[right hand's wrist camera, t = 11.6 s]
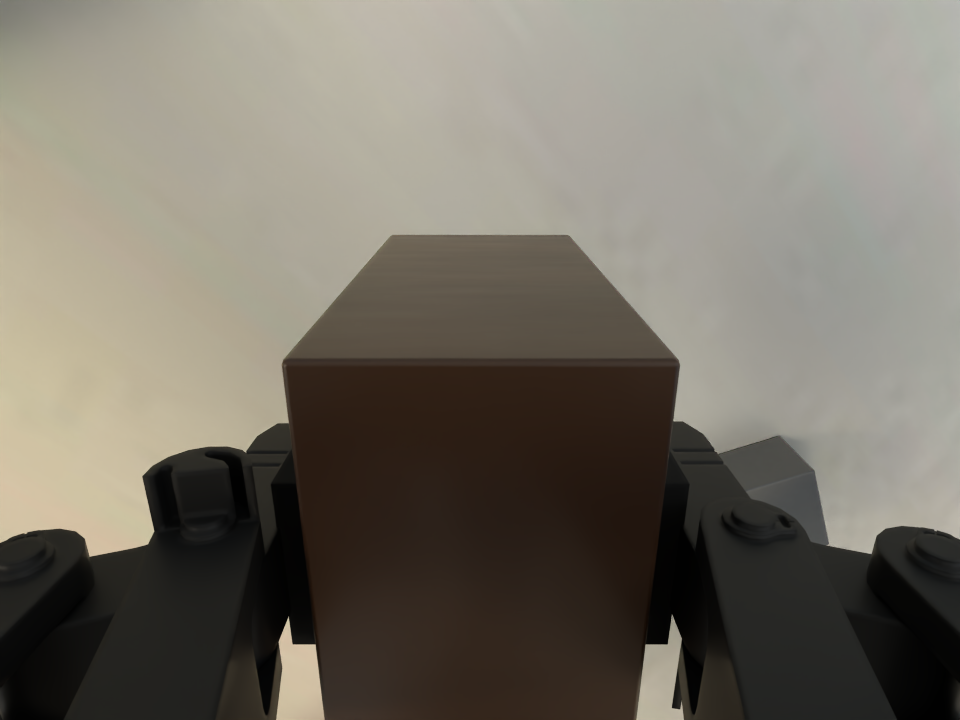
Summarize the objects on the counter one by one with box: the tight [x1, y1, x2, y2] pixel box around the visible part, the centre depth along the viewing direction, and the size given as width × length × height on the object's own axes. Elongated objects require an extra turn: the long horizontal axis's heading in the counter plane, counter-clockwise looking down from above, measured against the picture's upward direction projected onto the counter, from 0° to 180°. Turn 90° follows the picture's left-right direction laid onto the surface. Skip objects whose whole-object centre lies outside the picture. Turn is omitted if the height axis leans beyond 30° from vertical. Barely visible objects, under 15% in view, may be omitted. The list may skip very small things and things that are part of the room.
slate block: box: [719, 436, 829, 545], centre depth 35 cm, size 5×5×4 cm
